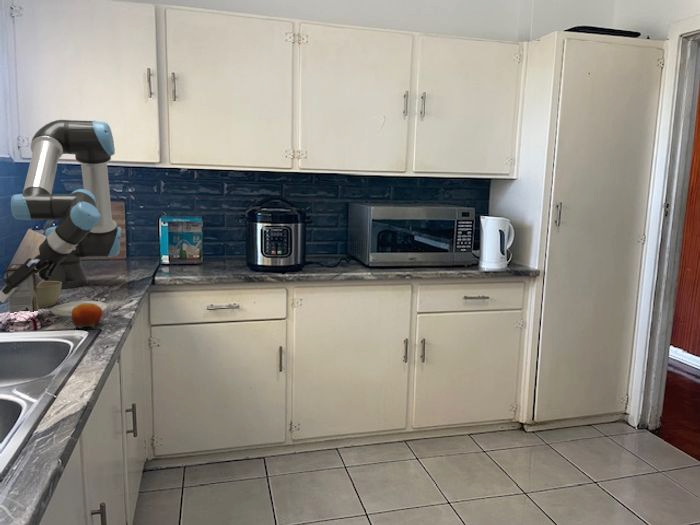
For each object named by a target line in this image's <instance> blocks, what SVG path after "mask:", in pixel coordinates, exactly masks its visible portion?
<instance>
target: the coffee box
mask: <svg viewBox="0 0 700 525" xmlns="http://www.w3.org/2000/svg"><path fill="white" fill-rule="evenodd" d="M23 264H24V263H15V264H14V263H12V264H10V265H9V266H8V267H7V268H5V274H6V279H7V278H8V277H9V276H11V275H12V274H13V273H14V272H15V271H16V270H17V269H19V268H20V267H21V266H22V265H23ZM34 269H35V270H36V268H34ZM35 275H36V273H34V274H32V275H31V276H30V277H29V278H27V279H26V280H25V281H23V282H22V283H21V284H19V285H18V286H17V289H16V290H15V291H14V292H13V293H12V294H11V295H10V297H9V298H8V299H7V300H8V308H9V314H10V313H14V312H19V311H30V312H34V311H38V312H39V306H38V301H37V289H36V277H35Z"/></svg>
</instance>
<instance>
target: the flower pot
mask: <svg viewBox="0 0 700 525" xmlns="http://www.w3.org/2000/svg"><path fill="white" fill-rule="evenodd" d="M61 287H62V282H59V281H44V280H43V281H42V282H41V284H40V285H39V286H38V287H37V288H36V289H37V301H38V307H40V306H41V308H43V307H44V308H46V307H51V306H56V304H57V301H58V300H59V298H60V295H61V291H62V288H61Z"/></svg>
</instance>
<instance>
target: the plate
mask: <svg viewBox="0 0 700 525" xmlns="http://www.w3.org/2000/svg"><path fill="white" fill-rule="evenodd" d="M83 303H92V304H96V305H98V306H99V307H100V308H101V309H102V313H103V312H104V311H106V310H107V309H108V305H107V303H105V302H103V301H97V300H77V301H71V302H66V303H62V304H59V305H54V306H53V307H51V314H52V315H53V314H54V315H53V316H56V315H57V317H63V316H67V317H66V318H70V316H71V318H72V310H73V308H74V307H76V306H78V305H80V304H83Z"/></svg>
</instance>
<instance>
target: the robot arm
mask: <svg viewBox="0 0 700 525" xmlns="http://www.w3.org/2000/svg"><path fill="white" fill-rule="evenodd" d="M30 150H31V152H32V153H31V157H30V162H29V166H28V170H27V174H26V179H25V182H24V187H23V190H22V191H23V192H22V193H20V194H19V193H18V194H16V193H15V194H13V195H12V196H11V200H10V211H11V215H12V216H13V218H14V219H16V220H20V221H21V220H24V221H41V220H42V221H43V220H44V221H49V220H61V221H60V222H59V223H58V225H56V226H51V227H49V228H47V229H46V230H45V239H44V240H43V242H42V243H41V244H40V245H38V246H39V247H38V251H39V254H38V255H36V256H35V257H34V259H32V257H29V258H27V260H26V261H25V262H24V263H22V264H23V265H22V266H21V267H20V268H19V269H17V270H16V271H15V272H14V273H13V274H12V275H11V276H9V277H8V278H7V277H6V278H5V279H4V280H3V282H4V284H5V285H4V286H3V287H2V289H1V290H0V302H1V303H2V304H4V303H6V301H7V300H9V299H8V298H9V297H10V295H11V294H12V293H13V292H14V291H15V290H16V289H17V286H18V285H19V284H21V283H22V282H23V281H25V280H26V279H27V278H29V277H30V276H31V275H32V274H34V273H35V277H36V288H37V287H38V286H39V285H40V284H41V282H44V281H59V282H62V287H61V289H71V288H79V287H82V286H86V285H87V284H88V282H89V281H88V277H87V274H86V272H85V269H84V267H83V264H82V258H105V257H106V258H109V257H117V256H119V254H120V249H121V248H120V247H121V237H122V227H121V226H118V224H117V221H115V220H114V219H113V214H112V206H111V192H110V182H109V171H108V163H109V162H110V161H111V160H112V157H111V156H115V154H116V152H115V141H114V137H113V133H112V129H111V126H110V125H109V123H107V122H106V121H96V120H76V119H75V120H72V119H58V120H56V119H55V120H54V121H53V120H52V121H50V122H48V123H46V124H44V125H43V126H42V127H41V128H39V129H38V130H37V131H36V132H35V134H34V135H33V136H32V139H31V142H30ZM63 155H74V156H75V161H76V162H78V163H79V164H80V167H81V176H82V185H83V188H79V189H76V190H74V191H72V192H71V193H70V194H65V193H63V194H56V193H55V194H53V189H54V184H55V179H56V174H57V169H58V168H57V167H58V162H59V159H60V158H61V157H63ZM34 268H35V269H34Z"/></svg>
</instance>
